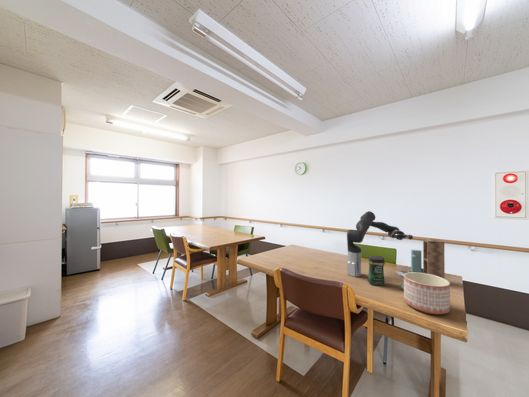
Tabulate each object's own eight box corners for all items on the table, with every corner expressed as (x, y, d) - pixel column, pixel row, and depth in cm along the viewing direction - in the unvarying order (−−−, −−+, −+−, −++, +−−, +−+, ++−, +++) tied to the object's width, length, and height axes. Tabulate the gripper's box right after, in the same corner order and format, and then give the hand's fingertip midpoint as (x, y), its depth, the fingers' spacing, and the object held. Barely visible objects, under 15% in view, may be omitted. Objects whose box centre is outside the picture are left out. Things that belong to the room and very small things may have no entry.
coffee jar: (370, 285, 137) (370, 257, 137) (366, 281, 145) (366, 254, 145) (386, 286, 136) (386, 257, 135) (381, 281, 143) (381, 254, 143)
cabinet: (409, 281, 143) (409, 240, 143) (401, 272, 161) (401, 235, 160) (447, 285, 136) (447, 242, 136) (434, 275, 154) (434, 237, 154)
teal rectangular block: (412, 275, 151) (412, 250, 151) (411, 274, 154) (411, 249, 154) (422, 276, 149) (422, 251, 149) (420, 274, 153) (420, 250, 153)
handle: (411, 294, 138) (390, 282, 133) (415, 282, 139) (395, 270, 134) (440, 306, 121) (418, 293, 116) (445, 293, 122) (423, 280, 117)
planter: (446, 321, 97) (446, 289, 97) (399, 306, 111) (398, 278, 111) (452, 307, 110) (452, 279, 110) (409, 294, 124) (409, 269, 124)
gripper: (388, 229, 182) (393, 232, 167) (408, 230, 178) (414, 233, 162) (389, 238, 182) (393, 241, 167) (408, 239, 178) (414, 243, 162)
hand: (404, 237), depth 165 cm, fingers open, 8 cm apart
